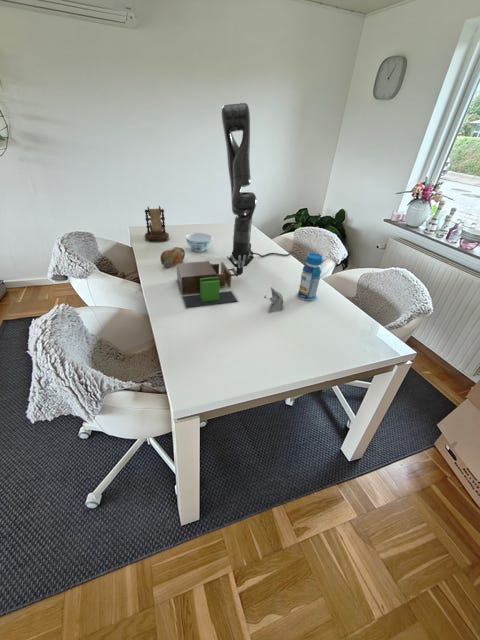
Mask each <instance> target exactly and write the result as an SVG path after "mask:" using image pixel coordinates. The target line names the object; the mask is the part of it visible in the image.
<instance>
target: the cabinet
mask: <svg viewBox="0 0 480 640" xmlns="http://www.w3.org/2000/svg"><path fill="white" fill-rule="evenodd" d="M211 264H212V263H211V262H210V261H209V260H205V261H194V262H192V261H191V262H181V263H179V264H176V265H175V266H176V280H177V283H178V285H179V289H180V291H181V294H182V295H184V296H186V295H195V294H200V279H201V278H209V277H217V274H216V272H215V270H214V269H213V267H212V265H211Z"/></svg>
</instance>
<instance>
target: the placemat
mask: <svg viewBox="0 0 480 640" xmlns="http://www.w3.org/2000/svg"><path fill="white" fill-rule="evenodd" d="M182 298H183V301H184V304H185V307H186V308H187V309H188V308H195V307H205V306H212V305H213V306H214V305H220V304H230V303H236V302H238V300H237V298H236V296H235V295H234V293H233V292H232V291H230V290H229V291H221V292H220V291H219V300H215V301H207V302H202V300H201V298H200V294H191V295H184V296H182Z"/></svg>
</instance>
